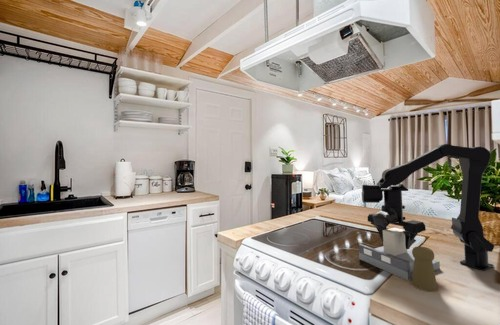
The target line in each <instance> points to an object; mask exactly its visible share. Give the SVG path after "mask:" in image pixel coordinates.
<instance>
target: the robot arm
mask: <svg viewBox="0 0 500 325" xmlns="http://www.w3.org/2000/svg"><path fill="white" fill-rule="evenodd" d="M445 157H448V158H451V159H455V160H458V161H459V166H460V169H461V171H462V184H461V185H462V186H461V196H460V209H459V211H460V212H459V214H458V216H457V218H456V217H451V223H452V224H451V226H450V229H451V230H452V233H453V235H454V236H456V238H458V239H459V242H460V243H463V244H464V245H463V248H464V259H463V260H460V261H459V264H461V265H465V266H469V267H471V268H474V269H478V270H480V271H486V270H489V269H491V268H494V266H495V264H493V263H489V252H490V253H492V252H493V251H494V248H495V245H494V244H493V243H492V242H490V241H489V240H488V239H487V238H485V234H484V228H483V224H482V222H481V220H480V217H479V216H480V206H481V205H480V203H481V193H482V191H481V190H482V180H483V174H484V173H485V171H486V170H487V168H488V167H489V164H490V160H491V158H492V153H491V151H490V150H489V149H488V148H487V147H484V146H472V147H471V146H470V147H467V146H461V145H453V144H449V143H444V144H438V145H437V146H435V148H432V149H430V150H429V151H428V150H427V151H426V152H425V153H423V154H421V155H419V156H417V157H415V158H413V159H411V160H410V161H407V162H405V163H403V164H399V165H396V166H393V167H390V168H385V170H384V171H382V173H381V178H380V180H379V181H378V182H377V183H376V184H370V185H369V184H362V186H361V187H362V189H361V200H362V203H363V204H365V203H367V204H369V203H370V204H372V203H374V204H375V203H377V204H379V203H380V202H381V201H383V205H381V210H379V211H378V212H375V213H369V214H368V215H367V222H369V223H370V224H371V225H372V226H374V227H375V228H376V230H377V233H378V234H379V237H380V239H381V241H382V242H383V230H386V229H387V228H388V226H389V225H390V224H391V225H395V226H399V227H402V228H403V230H405V231H403V233H404V234H405V246H406V249H407V250H409V249H410V248H411V246H412V245H413V244H412V243H413V242H414V239H416V237H417V235H419V234H420V233H422V232H425V231H426V230H427V229H426V224H425V223H424V222H423V221H419V220H414V219H413V220H412V219H411V220H407V221H405V220H406V216H404V214H403V213H404V212H403V210H404V209H405V208H406V206H405V205H403V192H408V191H409V188H407V187H406V186H405V185H404V184H402V183H403V182H404V181H406V180H407V179H408V178H409V177H410V176H411V175H412V174H413V173H416V172H418V171H419V170H421V169H423V168H425V167H427V166H429V165H431V164H433V163H436V162H437V161H439V160H441V159H443V158H445Z"/></svg>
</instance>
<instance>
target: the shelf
mask: <svg viewBox="0 0 500 325" xmlns="http://www.w3.org/2000/svg"><path fill="white" fill-rule="evenodd" d="M358 259H359V260H361V261H362V262H365V263H367V264H370V265H372V266H373V267H376V268H379V269H381V270H383V271H385V270H386V271H385V272H387V271H388V272H387V273H389V274H390V273H391V274H392V275H395V276H397V277H399V278H402V279H404V280H405V281H412V278H413V269H414V260H415V258H414V257H413V254H412V251H408V250H407V252H406V253H403V254H399V255H396V256H394V255H392V254H389V253H386V252H384V247H383V245H382V246H378V247H375V248H373V247H371V246H368V245H365V244H363V243H360V244H358ZM432 263H433V268H434V272H435V271H438V270H440V268H441V267H440V264H441V262H440V261H439V260H437V259H435V258H434V259H433V261H432Z"/></svg>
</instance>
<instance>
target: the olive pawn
mask: <svg viewBox="0 0 500 325" xmlns="http://www.w3.org/2000/svg"><path fill="white" fill-rule="evenodd" d="M411 250H412V251H411V252H412V254H413V257H414V258H415V260H414V269H413V278H412V279H411V285H412V286H413V287H414V288H416V289H418V290H421V291H424V292H437V291H438V283H437V278H436V274H435V271H434V268H433V263H432V261H433V259H434V260H435V253H434V251H433V249H431V248H429V247H426V246H420V245H419V246H415V247H412V249H411Z"/></svg>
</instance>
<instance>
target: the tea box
mask: <svg viewBox="0 0 500 325" xmlns="http://www.w3.org/2000/svg"><path fill="white" fill-rule="evenodd" d="M403 231H405V230H404V229H401V228H398V227H391V228H386V230H383V241H382V242H383V243H382V244H383V245H382V246H383V247H384V252H386V253H389V254H392V255H394V256H396V255H399V254H403V253H406V252H407V251H408V249H406V246H405V234H404V233H403Z"/></svg>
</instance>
